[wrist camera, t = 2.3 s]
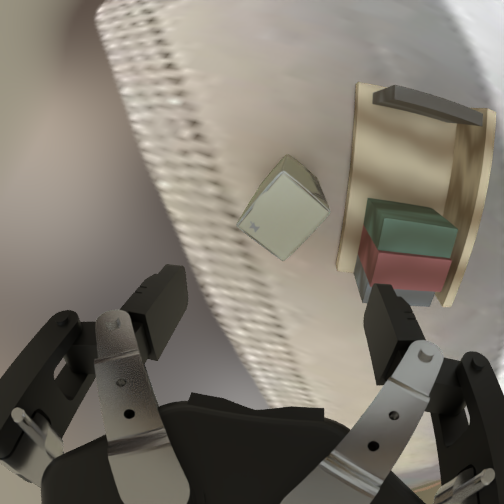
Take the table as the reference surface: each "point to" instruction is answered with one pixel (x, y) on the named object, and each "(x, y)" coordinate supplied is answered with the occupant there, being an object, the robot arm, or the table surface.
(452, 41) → the table surface
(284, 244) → the box
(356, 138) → the shelf
